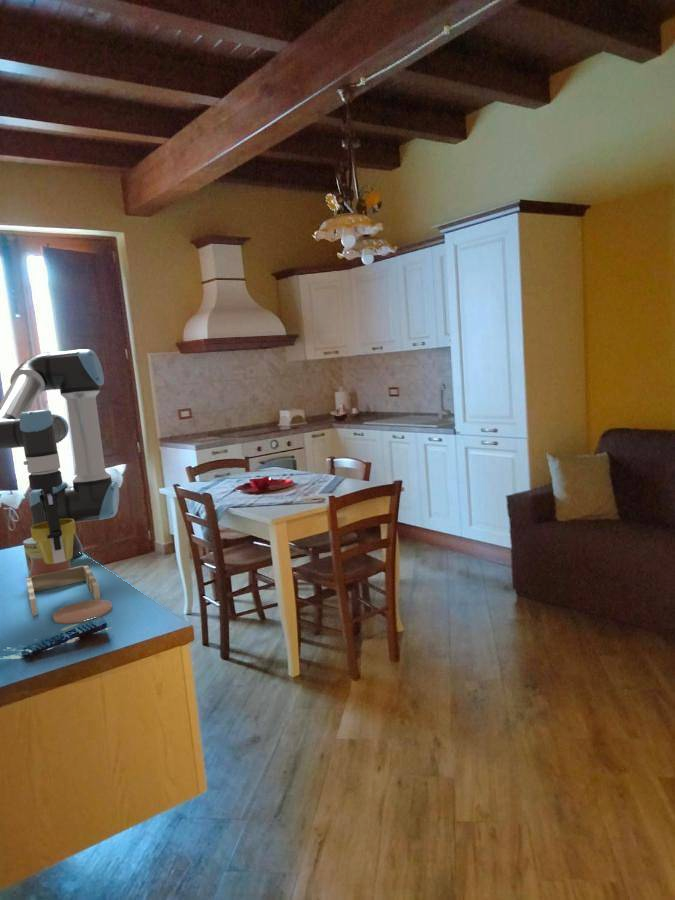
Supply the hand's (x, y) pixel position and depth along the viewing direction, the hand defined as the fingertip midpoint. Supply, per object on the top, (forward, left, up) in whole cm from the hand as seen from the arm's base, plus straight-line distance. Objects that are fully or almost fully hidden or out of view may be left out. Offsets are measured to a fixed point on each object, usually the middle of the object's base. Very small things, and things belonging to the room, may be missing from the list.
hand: (57, 556), depth 168 cm
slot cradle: (-1, 0, -10) cm, 11 cm away
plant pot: (0, 0, -1) cm, 1 cm away
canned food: (-19, -8, -11) cm, 23 cm away
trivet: (+15, +9, -10) cm, 20 cm away
